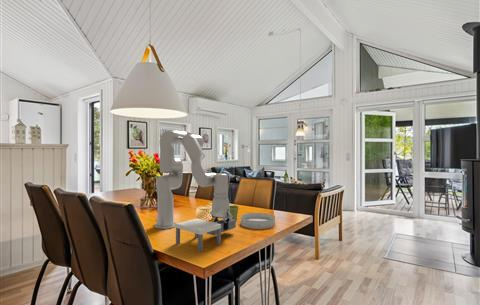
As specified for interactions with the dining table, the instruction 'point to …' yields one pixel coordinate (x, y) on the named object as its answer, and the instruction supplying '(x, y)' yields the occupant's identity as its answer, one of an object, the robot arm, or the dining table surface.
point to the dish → (257, 220)
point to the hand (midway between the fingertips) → (221, 228)
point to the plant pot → (234, 211)
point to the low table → (198, 230)
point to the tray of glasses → (230, 226)
